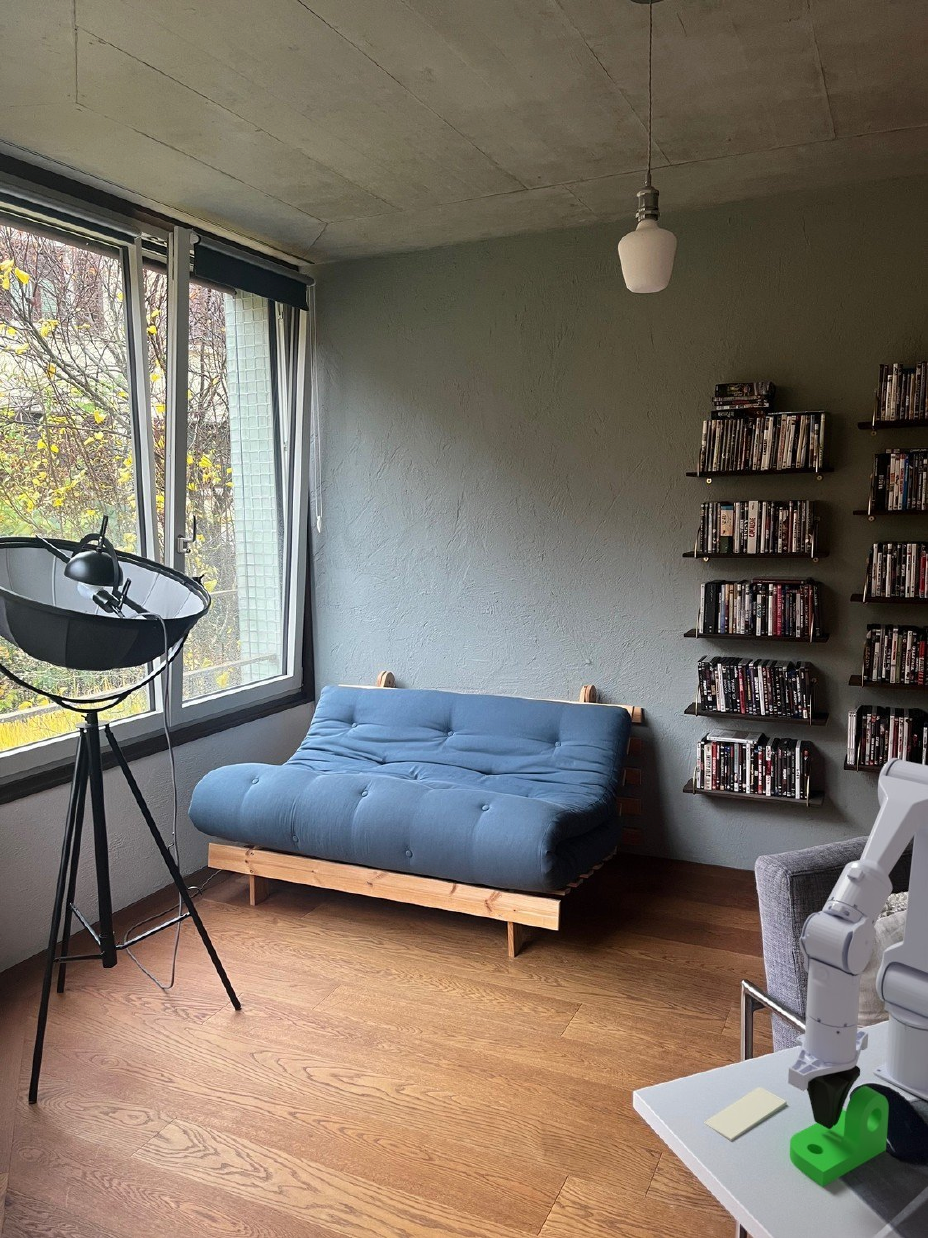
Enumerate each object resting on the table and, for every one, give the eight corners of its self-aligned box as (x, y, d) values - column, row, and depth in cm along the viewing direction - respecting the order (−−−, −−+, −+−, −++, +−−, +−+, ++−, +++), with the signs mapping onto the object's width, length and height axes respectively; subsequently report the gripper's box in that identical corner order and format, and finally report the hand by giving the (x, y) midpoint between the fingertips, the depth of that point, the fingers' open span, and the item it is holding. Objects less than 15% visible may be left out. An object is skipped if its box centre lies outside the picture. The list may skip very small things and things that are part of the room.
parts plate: (759, 1092, 124) (759, 1086, 123) (786, 1107, 120) (786, 1101, 120) (703, 1128, 116) (703, 1122, 116) (730, 1145, 113) (730, 1139, 113)
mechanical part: (841, 1124, 118) (845, 1064, 117) (885, 1151, 113) (890, 1088, 112) (778, 1158, 111) (782, 1094, 110) (822, 1188, 106) (826, 1122, 105)
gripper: (832, 983, 119) (826, 1084, 121) (767, 1020, 110) (761, 1129, 111) (887, 1006, 114) (880, 1111, 115) (823, 1047, 105) (816, 1161, 106)
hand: (825, 1122), depth 113 cm, fingers closed
